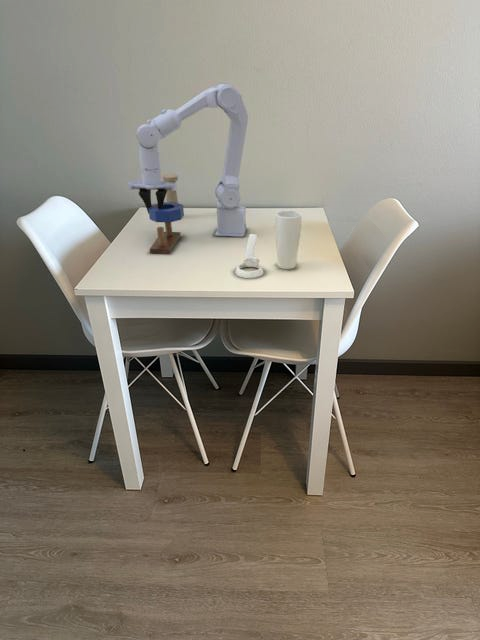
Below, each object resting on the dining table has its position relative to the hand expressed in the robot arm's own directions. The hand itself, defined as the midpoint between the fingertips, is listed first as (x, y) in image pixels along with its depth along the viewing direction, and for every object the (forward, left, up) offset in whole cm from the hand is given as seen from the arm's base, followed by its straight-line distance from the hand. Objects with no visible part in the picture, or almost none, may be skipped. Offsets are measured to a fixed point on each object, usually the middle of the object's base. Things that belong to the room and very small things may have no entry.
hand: (155, 212), depth 146 cm
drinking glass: (-42, +18, -9) cm, 46 cm away
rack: (-4, +4, -9) cm, 11 cm away
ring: (-4, 0, -1) cm, 4 cm away
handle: (0, -22, -9) cm, 24 cm away
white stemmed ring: (-32, +23, -9) cm, 40 cm away
